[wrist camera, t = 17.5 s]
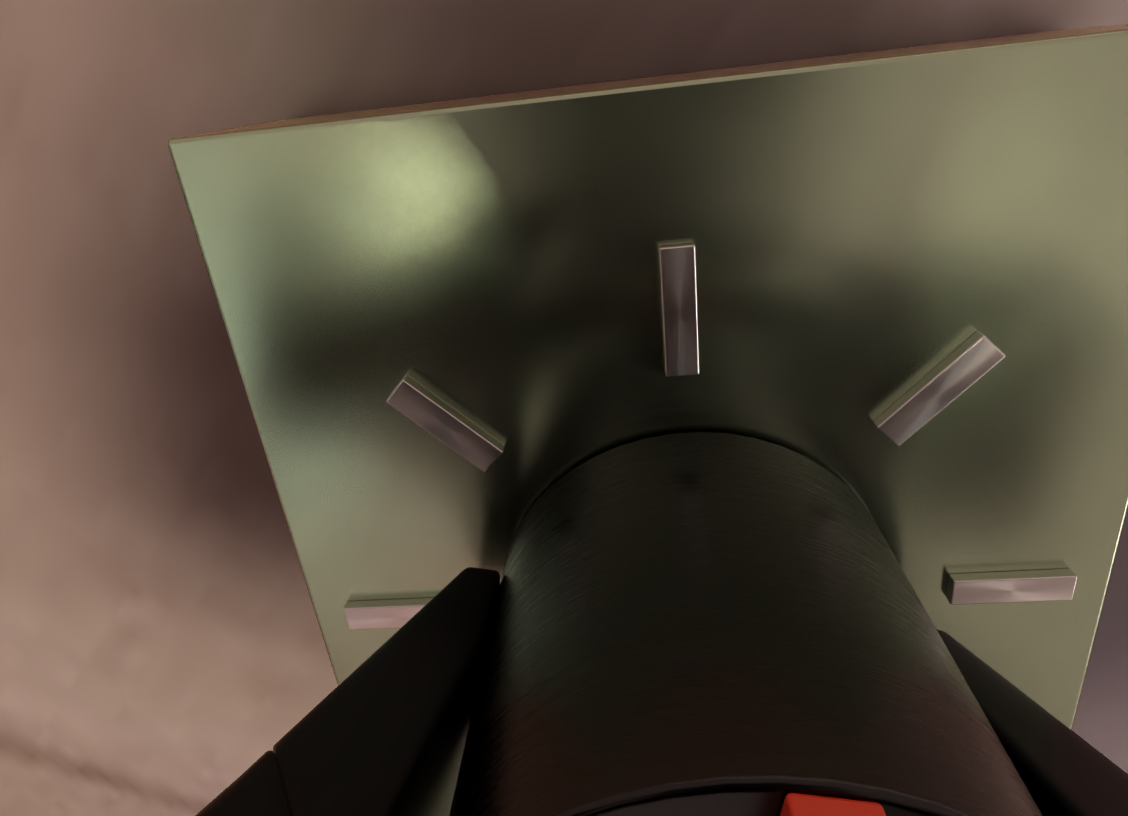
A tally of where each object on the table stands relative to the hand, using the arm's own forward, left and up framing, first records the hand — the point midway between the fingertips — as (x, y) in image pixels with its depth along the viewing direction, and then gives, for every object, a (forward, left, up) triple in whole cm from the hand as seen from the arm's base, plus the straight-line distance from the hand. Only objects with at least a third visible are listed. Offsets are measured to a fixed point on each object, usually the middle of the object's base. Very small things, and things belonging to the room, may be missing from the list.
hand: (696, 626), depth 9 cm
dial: (0, 0, 0) cm, 0 cm away
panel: (0, 0, -4) cm, 4 cm away
